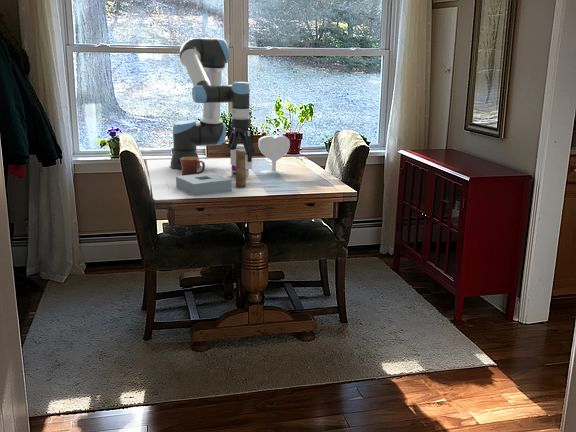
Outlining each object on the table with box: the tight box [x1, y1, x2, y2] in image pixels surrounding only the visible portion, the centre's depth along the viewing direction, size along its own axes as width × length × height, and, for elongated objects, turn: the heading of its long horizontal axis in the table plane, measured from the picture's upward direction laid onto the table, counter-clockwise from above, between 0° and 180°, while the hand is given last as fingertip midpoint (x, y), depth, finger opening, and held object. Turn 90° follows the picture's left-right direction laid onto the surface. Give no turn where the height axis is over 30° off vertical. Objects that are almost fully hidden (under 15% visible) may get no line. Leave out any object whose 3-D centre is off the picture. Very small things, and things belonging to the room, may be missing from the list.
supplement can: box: [231, 143, 250, 178], centre depth 296 cm, size 8×8×15 cm
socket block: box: [175, 172, 233, 197], centre depth 269 cm, size 18×18×5 cm
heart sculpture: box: [257, 135, 291, 174], centre depth 307 cm, size 16×5×18 cm, turn 104°
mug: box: [180, 156, 206, 176], centre depth 285 cm, size 12×9×10 cm
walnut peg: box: [235, 150, 247, 188], centre depth 274 cm, size 4×4×16 cm
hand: (240, 166), depth 274 cm, fingers open, 12 cm apart
